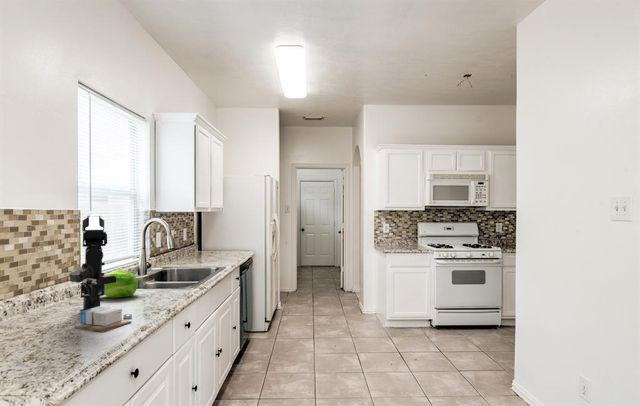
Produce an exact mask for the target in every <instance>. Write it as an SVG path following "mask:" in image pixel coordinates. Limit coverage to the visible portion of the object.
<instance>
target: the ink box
mask: <svg viewBox="0 0 640 406" xmlns="http://www.w3.org/2000/svg"><path fill="white" fill-rule="evenodd" d="M122 314H123V308H119V307H109V306H108V307H107V306H100V307H99V306H98V307H95V308H91V309H88V310H85V311H80V317H79V318H80V320H79V321H80V325H81V324H91V325H102V326H106V325H109V324H112V323H115V322H118V321H121V320H123V315H122Z"/></svg>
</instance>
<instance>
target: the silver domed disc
mask: <svg viewBox="0 0 640 406" xmlns="http://www.w3.org/2000/svg"><path fill="white" fill-rule="evenodd" d="M129 319H133V314H132V313H128V314H127V313H126V314H123V315H122V320H129Z"/></svg>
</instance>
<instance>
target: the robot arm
mask: <svg viewBox="0 0 640 406" xmlns="http://www.w3.org/2000/svg"><path fill="white" fill-rule="evenodd" d="M81 226H82V227H81V228H82V229H81V230H82V247H83V248H85V250H84V251H85V253H84V255H85V256H84V263H82V264H81V268H78V269H76V270H74V271H72V272H70V273H69V275H68V276H69V278H70V279H69V282H71V283H77V284H79V283H80V298H81V299H83V300H82V301H83V306H82V308H80V309H79V312H81V311H85V310H88V309H91V308H95V307H98V306H99V307H101V297H103V296H105V295H104V291H105V284H110V283H115V282H116V280H117V277H116V276H115V275H107V274H105V272H103V266H105V262H104V261H103V258H104V253H103V248H102V247H106V245H108V233H107V232H106V231H105V220H104V218H102V217H101V215H99V214H89V215H87V216H86V218H84V219H83V220H82V225H81ZM100 292H101V293H100Z"/></svg>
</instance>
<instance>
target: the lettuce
mask: <svg viewBox="0 0 640 406" xmlns="http://www.w3.org/2000/svg"><path fill="white" fill-rule="evenodd" d="M106 275H115V276H116V277H117V280H116V282H115V283H110V284H105V291H104V295H103V296H107V297H110V298H126V297H130V296H133V295H135V293H136V291H137V289H138V287H139V281H138V278H137V277H136V275H135V274H134V273H133V272H132V271H130V270H123V269H116V270H113V271H111V272H109V273H107V274H106ZM100 293H101V292H100Z"/></svg>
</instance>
